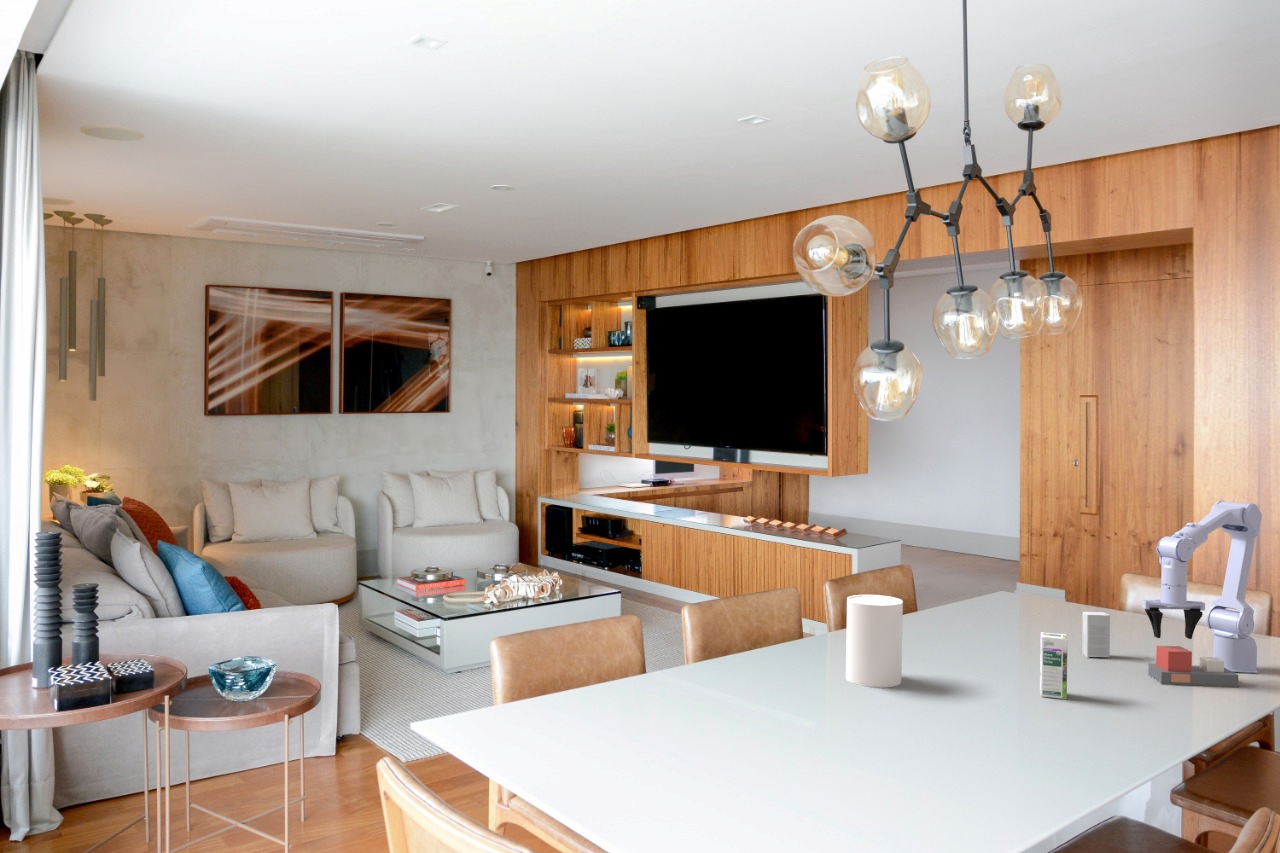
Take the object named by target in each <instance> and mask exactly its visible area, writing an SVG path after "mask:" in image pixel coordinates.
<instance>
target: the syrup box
mask: <svg viewBox="0 0 1280 853" xmlns="http://www.w3.org/2000/svg"><path fill="white" fill-rule="evenodd" d="M1068 640H1069V639H1068V636H1067V634H1066V633H1053V632H1043V631H1042V632H1040V643H1039V645H1040V647H1039V648H1040V649H1039V650H1040V651H1039V655H1040V656H1039V658H1040V659H1039V661H1040V662H1039V663H1040V665H1039V667H1040V668H1039V694H1040V698H1053V699H1060V700H1067V695H1068V694H1067V693H1068V692H1067V691H1068V690H1067V689H1068V688H1067V687H1068Z"/></svg>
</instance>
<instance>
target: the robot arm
mask: <svg viewBox="0 0 1280 853" xmlns="http://www.w3.org/2000/svg"><path fill="white" fill-rule="evenodd" d="M1262 517H1263V514H1262V512H1261V510H1260V508H1259V506H1258V505H1257V504H1255V503H1244V502H1234V501H1225V500H1218V501H1217V502H1215V503H1214V504H1212V506H1211V509H1210V512H1208V513H1207V515H1206V516H1204V517H1203V518H1202V519H1200V521H1198V522H1187V523H1186V524H1185V526H1183V527H1182V528H1181V529H1179V530H1178V531H1176V532H1174V534H1172V535H1171V536H1167V535H1166V536H1164V537H1162V538H1161V539H1160V540H1158V543H1157V546H1156V547H1155V551H1156V554H1157V556H1158V558H1159V559H1158V562H1159V565H1161V576H1160V577H1161V578H1160V579H1161V580H1160V581H1161V583H1160V587H1161V588H1160V589H1161V590H1160V599H1148V600H1147V599H1142V602H1141V604H1142V605H1141V607H1142V609H1144V611H1145V613H1146V616H1147V617H1148V619H1149V621H1150V624H1151V627H1152V631H1153V632H1152V633H1153V637H1154V638H1157V639H1161V635H1162V621H1163V617H1164V616H1163V615H1164V613H1163V612H1162V611H1161V610H1183V615H1184V616H1183V617H1184V623H1185V624H1184V637H1185V638H1186V639H1189V640H1192V639H1193V637H1194V636H1193V635H1194V632H1195V629H1196V627H1197V626H1198V623H1199V621H1200V620H1201V618H1202V617H1203V611H1204V612H1205V611H1206V603H1205V602H1203V601H1195V600H1187V594H1188V590H1187V588H1188V587H1187V586H1188V561H1190V560H1191V558H1192V557H1193V555H1194V553H1195V552H1196V550H1197V548H1199V547H1200V546H1201V545H1203V544H1204V543H1205V542H1207V540H1208V539H1209V534H1210V533H1213V532H1214V531H1216V530H1218V529H1219V528H1221V530H1222V531H1224V532H1225V533H1226V534H1228V535H1229V536H1230V538H1231V542H1230V548H1229V553H1228V554H1229V555H1228V559H1227V564H1226V569H1225V576H1224V582H1223V587H1222V591H1221V596H1219V597H1218V598H1215V599H1214V600H1212V601H1211V603H1210V607H1209V609H1208V610H1207V613H1206V614H1205V615H1206V616H1205V622H1206V623H1205V624H1206V626H1207V628H1208V629H1209V630H1210V634H1213V645H1212V646H1213V648H1212V649H1213V651H1212V652H1213V653H1212V657H1217V658H1219V659H1221V660H1223V661H1224V667H1225V668H1226V669H1228V670H1230V671H1232V672H1234V673H1249V674H1252V673H1253V674H1258V673H1259V671H1258V670H1257V667H1258V666H1257V664H1258V663H1257V662H1258V645H1257V641H1256V640H1255V638H1254V637H1253V636H1250V635H1251V634H1252V633H1253V631H1254V629H1255V620H1254V614H1255V610H1254V609H1253V608H1252V606H1251V605H1249V604H1248V602H1246V600H1245V599H1246V595H1247V588H1248V582H1249V578H1250V571H1251V567H1252V561H1253V555H1254V549H1255V544H1256V538H1257V537H1259V535H1260V530H1261V523H1262V520H1263V518H1262ZM1236 610H1237V611H1236Z"/></svg>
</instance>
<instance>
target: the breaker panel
mask: <svg viewBox="0 0 1280 853" xmlns="http://www.w3.org/2000/svg"><path fill="white" fill-rule="evenodd" d="M1147 667H1148V671H1147V672H1148V674H1147V675H1148V676H1149V675H1150V676H1151V677H1150V676H1149V677H1150V678H1152V677H1153V678H1154V679H1153V678H1152V679H1153V680H1155V679H1156V680H1157V681H1156V680H1155V681H1156V682H1158V681H1159V682H1160V683H1162V684H1161V685H1173V684H1179V685H1178V686H1198V687H1199V686H1201V687H1225V688H1239V674H1237V672H1232V671H1230V670H1228V669H1226V668H1225V667H1224V673H1216V672H1205V671H1203V670H1202V669H1200V665H1196V664H1195V665H1193V664H1192V672H1175V671H1166V670H1164V669H1163V668H1161V667H1159V666H1157V665H1156V663H1148V666H1147ZM1159 682H1158V683H1159ZM1160 683H1159V684H1160Z"/></svg>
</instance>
